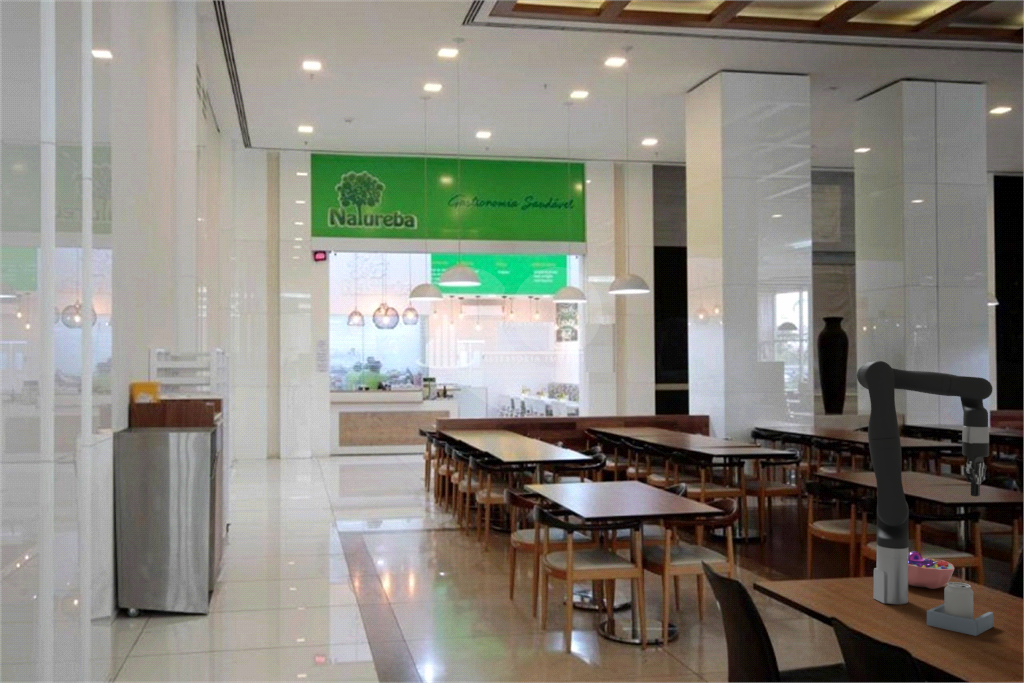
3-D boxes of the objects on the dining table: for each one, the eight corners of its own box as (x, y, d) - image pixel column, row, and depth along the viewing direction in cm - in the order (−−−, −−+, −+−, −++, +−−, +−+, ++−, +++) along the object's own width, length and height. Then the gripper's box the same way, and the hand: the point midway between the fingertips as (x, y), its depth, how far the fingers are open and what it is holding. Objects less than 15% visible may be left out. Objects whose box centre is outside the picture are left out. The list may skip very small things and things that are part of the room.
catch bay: (945, 616, 272) (945, 602, 272) (993, 626, 262) (993, 612, 262) (926, 624, 263) (926, 610, 263) (975, 635, 253) (976, 621, 253)
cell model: (932, 597, 293) (932, 561, 293) (881, 583, 311) (881, 549, 311) (967, 591, 301) (967, 556, 301) (915, 577, 319) (915, 545, 319)
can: (975, 631, 257) (975, 588, 257) (945, 628, 260) (945, 585, 260) (971, 624, 264) (971, 582, 264) (942, 621, 267) (943, 579, 267)
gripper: (971, 438, 297) (970, 492, 296) (954, 441, 287) (954, 496, 287) (996, 440, 291) (995, 495, 291) (980, 443, 282) (979, 499, 282)
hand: (975, 495), depth 289 cm, fingers closed
